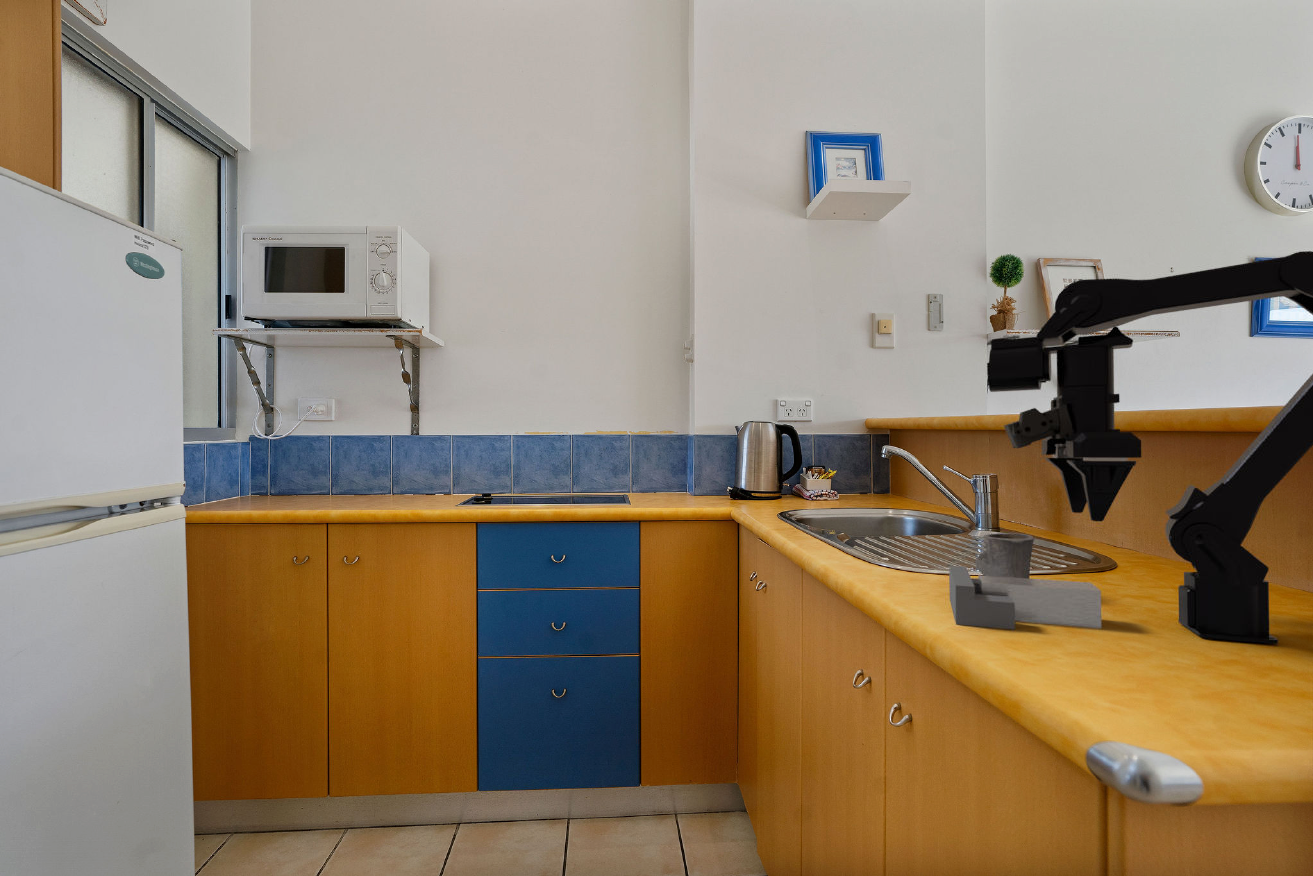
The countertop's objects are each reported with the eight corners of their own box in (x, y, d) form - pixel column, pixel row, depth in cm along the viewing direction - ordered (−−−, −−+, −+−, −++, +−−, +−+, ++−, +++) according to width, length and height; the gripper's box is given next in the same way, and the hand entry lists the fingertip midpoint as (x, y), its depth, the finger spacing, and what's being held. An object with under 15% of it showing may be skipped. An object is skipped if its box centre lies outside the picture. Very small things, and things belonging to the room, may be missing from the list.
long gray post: (1091, 620, 75) (1090, 582, 75) (1101, 630, 71) (1100, 590, 71) (978, 610, 80) (978, 575, 80) (982, 620, 75) (981, 582, 76)
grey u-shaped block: (1000, 603, 82) (999, 568, 82) (1015, 629, 71) (1014, 589, 71) (949, 599, 84) (949, 565, 85) (955, 624, 73) (955, 585, 73)
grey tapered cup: (1004, 578, 97) (1004, 526, 97) (1045, 598, 85) (1044, 539, 85) (963, 577, 98) (962, 526, 98) (997, 597, 85) (997, 538, 86)
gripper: (999, 395, 88) (1000, 507, 88) (1021, 383, 70) (1022, 523, 70) (1094, 392, 84) (1095, 509, 83) (1142, 379, 66) (1144, 527, 66)
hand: (1086, 516), depth 76 cm, fingers open, 9 cm apart
